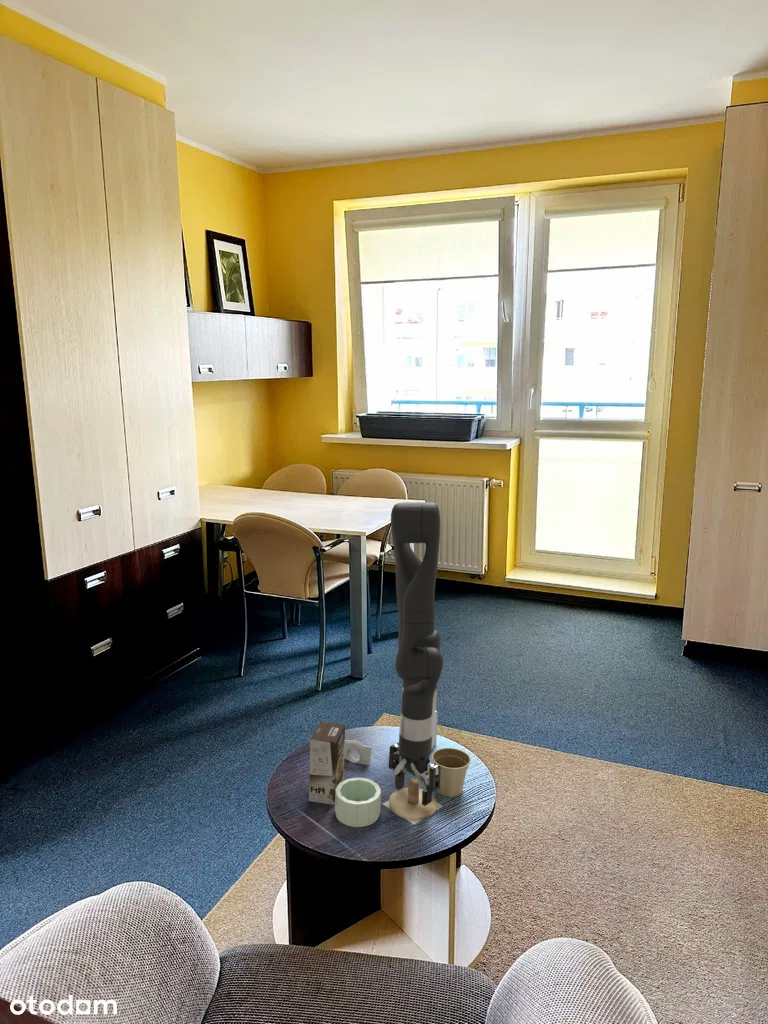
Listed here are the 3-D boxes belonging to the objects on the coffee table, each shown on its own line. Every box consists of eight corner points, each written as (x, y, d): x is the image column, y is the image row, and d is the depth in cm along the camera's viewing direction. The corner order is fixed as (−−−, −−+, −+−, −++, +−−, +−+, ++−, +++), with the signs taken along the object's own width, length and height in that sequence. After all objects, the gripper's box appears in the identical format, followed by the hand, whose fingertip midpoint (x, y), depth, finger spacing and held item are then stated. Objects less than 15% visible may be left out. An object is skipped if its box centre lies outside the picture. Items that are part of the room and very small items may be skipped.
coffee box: (334, 806, 161) (336, 742, 158) (308, 802, 162) (309, 739, 159) (344, 784, 170) (346, 723, 167) (319, 780, 171) (320, 720, 168)
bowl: (358, 795, 165) (359, 772, 164) (388, 815, 159) (389, 791, 157) (326, 813, 158) (327, 789, 157) (356, 834, 152) (357, 809, 150)
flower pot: (442, 774, 175) (444, 743, 174) (475, 788, 170) (477, 756, 168) (422, 791, 168) (424, 759, 166) (456, 806, 163) (458, 773, 161)
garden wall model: (328, 755, 183) (328, 734, 181) (332, 752, 184) (332, 731, 183) (368, 768, 177) (369, 746, 176) (372, 764, 179) (372, 743, 178)
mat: (411, 788, 169) (411, 787, 169) (443, 807, 162) (443, 805, 162) (382, 805, 162) (382, 804, 162) (413, 826, 155) (414, 824, 155)
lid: (411, 785, 170) (412, 763, 168) (446, 806, 162) (447, 782, 161) (379, 804, 162) (380, 780, 161) (414, 826, 154) (415, 802, 153)
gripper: (450, 738, 156) (446, 803, 159) (404, 714, 166) (401, 776, 169) (428, 749, 151) (424, 817, 154) (382, 725, 161) (379, 788, 164)
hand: (412, 796), depth 161 cm, fingers open, 8 cm apart
